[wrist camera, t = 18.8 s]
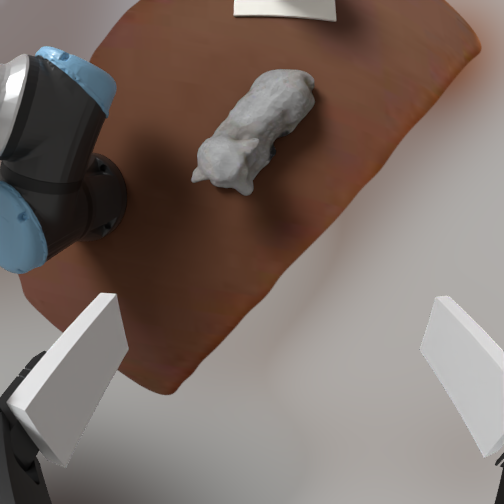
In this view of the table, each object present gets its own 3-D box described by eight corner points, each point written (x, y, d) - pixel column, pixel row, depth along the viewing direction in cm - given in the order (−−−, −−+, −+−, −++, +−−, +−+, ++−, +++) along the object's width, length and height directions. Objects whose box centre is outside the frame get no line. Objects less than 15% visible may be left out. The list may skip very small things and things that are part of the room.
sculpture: (199, 177, 46) (173, 191, 31) (256, 56, 39) (254, 19, 25) (264, 205, 47) (266, 231, 33) (321, 86, 40) (348, 61, 26)
